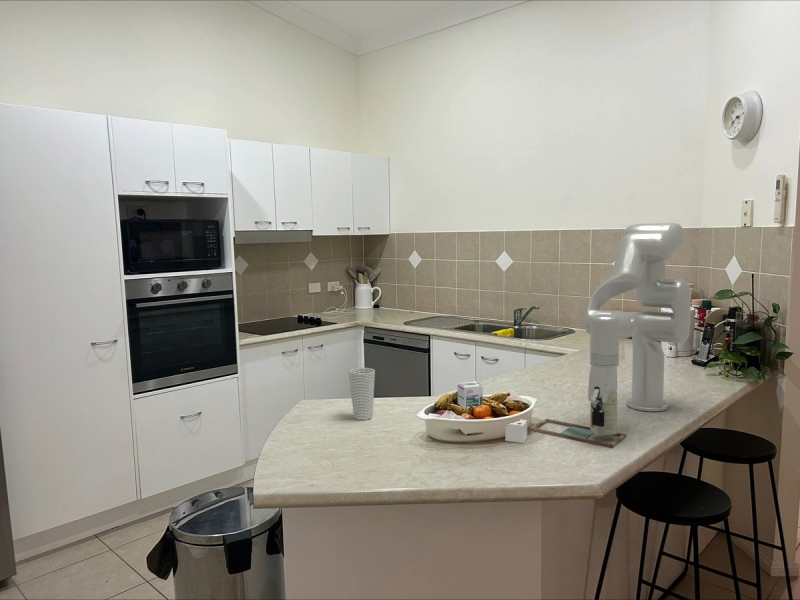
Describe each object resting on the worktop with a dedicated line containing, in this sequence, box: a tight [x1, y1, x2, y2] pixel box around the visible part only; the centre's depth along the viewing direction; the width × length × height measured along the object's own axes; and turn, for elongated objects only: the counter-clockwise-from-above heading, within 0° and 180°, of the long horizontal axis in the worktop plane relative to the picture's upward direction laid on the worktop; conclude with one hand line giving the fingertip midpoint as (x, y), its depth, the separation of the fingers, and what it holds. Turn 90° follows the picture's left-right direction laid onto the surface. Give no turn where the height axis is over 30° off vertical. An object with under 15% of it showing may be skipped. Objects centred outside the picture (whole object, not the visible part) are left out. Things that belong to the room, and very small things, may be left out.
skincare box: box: [589, 390, 618, 436], centre depth 161 cm, size 6×4×12 cm
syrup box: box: [456, 380, 484, 409], centre depth 170 cm, size 6×6×14 cm
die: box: [504, 419, 528, 444], centre depth 163 cm, size 5×5×5 cm
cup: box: [348, 367, 376, 421], centre depth 186 cm, size 8×8×16 cm
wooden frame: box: [530, 418, 627, 449], centre depth 167 cm, size 11×24×1 cm, turn 50°
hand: (603, 421), depth 162 cm, fingers closed on skincare box, 7 cm apart
